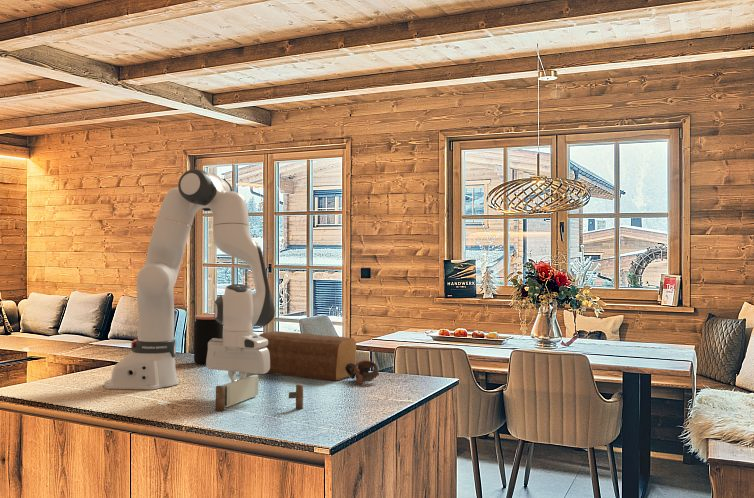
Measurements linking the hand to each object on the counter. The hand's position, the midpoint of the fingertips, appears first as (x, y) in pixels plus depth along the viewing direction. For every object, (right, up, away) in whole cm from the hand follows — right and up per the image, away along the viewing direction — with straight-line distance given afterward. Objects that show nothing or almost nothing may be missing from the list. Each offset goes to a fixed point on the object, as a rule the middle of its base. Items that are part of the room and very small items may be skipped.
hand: (237, 386), depth 208 cm
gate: (+2, -3, -6) cm, 7 cm away
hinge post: (-1, -3, -17) cm, 17 cm away
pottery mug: (+36, -4, +27) cm, 45 cm away
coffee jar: (-22, -3, +58) cm, 62 cm away
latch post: (+19, -4, -13) cm, 23 cm away
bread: (+16, -4, +40) cm, 43 cm away
